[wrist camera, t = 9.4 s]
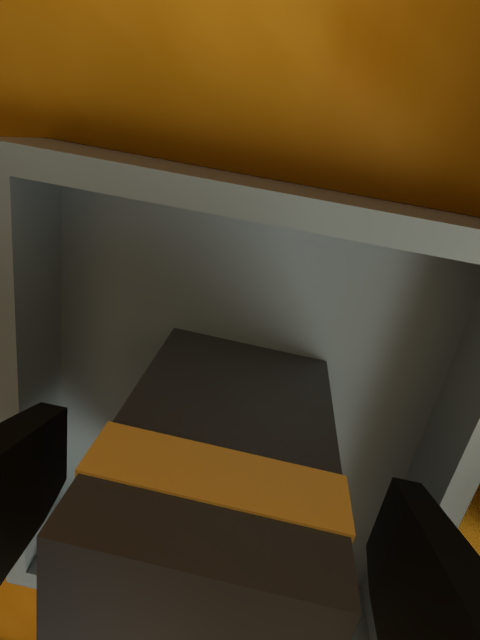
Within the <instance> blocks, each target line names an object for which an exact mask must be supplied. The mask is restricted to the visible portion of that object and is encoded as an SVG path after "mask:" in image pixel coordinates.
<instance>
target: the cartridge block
mask: <svg viewBox="0 0 480 640" xmlns="http://www.w3.org/2000/svg"><path fill="white" fill-rule="evenodd" d="M355 536H356V534H355V528H354V521H353V515H352V508H351V501H350V495H349V488H348V482H347V476H345V475H342V468H341V461H340V454H339V446H338V439H337V432H336V425H335V418H334V411H333V403H332V396H331V389H330V382H329V375H328V368H327V361H323V360H319V359H314V358H310V357H305V356H301V355H296V354H292V353H287V352H282V351H278V350H273V349H269V348H264V347H260V346H255V345H251V344H246V343H241V342H237V341H232V340H228V339H223V338H219V337H214V336H209V335H205V334H200V333H196V332H191V331H187V330H182V329H178V328H174V329H173V330H172V332H171V333H170V335H169V336H168V338H167V339H166V341H165V342H164V344H163V345H162V347H161V348H160V350H159V351H158V353H157V354H156V356H155V357H154V359H153V361H152V362H151V364H150V365H149V367H148V368H147V370H146V371H145V373H144V374H143V376H142V377H141V379H140V380H139V382H138V383H137V385H136V386H135V388H134V389H133V391H132V392H131V394H130V395H129V397H128V398H127V400H126V401H125V403H124V404H123V406H122V408H121V409H120V411H119V412H118V414H117V415H116V417H115V418H114V420H113V421H112V422H110V421H108V422H107V423H106V425H105V426H104V428H103V429H102V431H101V432H100V433H99V435H98V436H97V438H96V439H95V441H94V442H93V444H92V445H91V447H90V448H89V450H88V451H87V453H86V454H85V456H84V457H83V459H82V460H81V462H80V463H79V465H78V466H77V467H76V469H75V479H74V480H73V482H72V483H71V485H70V486H69V488H68V489H67V491H66V492H65V494H64V495H63V497H62V498H61V500H60V502H59V503H58V505H57V506H56V508H55V509H54V511H53V512H52V514H51V515H50V517H49V518H48V520H47V521H46V523H45V524H44V526H43V527H42V529H41V530H40V532H39V533H38V535H37V640H351V638H352V636H353V634H354V632H355V629H356V627H357V625H358V623H359V621H360V618H361V616H362V611H361V604H360V597H359V590H358V582H357V575H356V568H355V561H354V554H353V547H352V544H353V541H354V539H355Z"/></svg>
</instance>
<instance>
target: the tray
mask: <svg viewBox="0 0 480 640" xmlns="http://www.w3.org/2000/svg"><path fill="white" fill-rule="evenodd" d="M174 328H178V329H182V330H187V331H191V332H196V333H200V334H205V335H209V336H214V337H219V338H223V339H228V340H232V341H237V342H241V343H246V344H251V345H255V346H260V347H264V348H269V349H273V350H278V351H282V352H287V353H292V354H296V355H301V356H305V357H310V358H314V359H319V360H323V361H327V368H328V375H329V382H330V389H331V396H332V403H333V411H334V418H335V425H336V432H337V439H338V446H339V454H340V461H341V468H342V475H345V476H347V482H348V488H349V495H350V501H351V508H352V515H353V521H354V528H355V534H356V536H355V539H354V541H353V544H352V547H353V554H354V561H355V568H356V575H357V582H358V590H359V597H360V604H361V611H362V616H361V618H360V621H359V623H358V625H357V627H356V629H355V632H354V634H353V636H352V638H351V640H377V635H376V629H375V624H374V618H373V613H372V607H371V601H370V596H369V584H368V571H367V554H366V544H367V541H368V539H369V536H370V534H371V531H372V528H373V526H374V523H375V521H376V518H377V516H378V513H379V510H380V508H381V505H382V503H383V500H384V498H385V495H386V492H387V490H388V487H389V485H390V482H391V480H392V477H395V478H400V479H404V480H409V481H414V482H419V483H422V485H423V486H424V487H425V488H426V489H427V491H428V492H429V493H430V494H431V495H432V497H433V498H434V499H435V500H436V502H437V503H438V504H439V505H440V507H441V508H442V509H443V511H444V512H445V513H446V514H447V516H448V517H449V518H450V519H451V521H452V522H453V523H454V525H455V526H456V527H457V528H458V526H459V524H460V522H461V520H462V518H463V516H464V514H465V512H466V510H467V508H468V506H469V504H470V502H471V500H472V498H473V496H474V494H475V492H476V490H477V488H478V486H479V484H480V218H479V217H474V216H468V215H463V214H458V213H452V212H447V211H441V210H436V209H430V208H425V207H420V206H414V205H409V204H403V203H398V202H392V201H387V200H381V199H376V198H371V197H365V196H360V195H354V194H349V193H343V192H338V191H333V190H327V189H322V188H316V187H311V186H305V185H300V184H295V183H289V182H284V181H278V180H273V179H267V178H262V177H256V176H251V175H246V174H240V173H235V172H229V171H224V170H218V169H213V168H208V167H202V166H197V165H191V164H186V163H180V162H175V161H169V160H164V159H159V158H153V157H148V156H142V155H137V154H131V153H126V152H121V151H115V150H110V149H104V148H99V147H93V146H88V145H83V144H77V143H72V142H66V141H61V140H55V139H50V138H36V137H0V423H1V422H2V421H4V420H6V419H8V418H10V417H12V416H14V415H16V414H18V413H20V412H22V411H24V410H26V409H28V408H30V407H32V406H34V405H36V404H38V403H40V402H44V403H48V404H53V405H58V406H62V407H67V408H68V414H67V479H66V481H65V483H64V485H63V487H62V489H61V491H60V493H59V495H58V497H57V499H56V501H55V503H54V505H53V506H52V508H51V510H50V512H49V514H48V516H47V517H46V519H45V521H44V523H43V524H42V526H41V527H40V529H39V530H38V532H37V533H36V535H35V536H34V538H33V539H32V540H31V542H30V543H29V545H28V546H27V548H26V549H25V551H24V552H23V554H22V555H21V556H20V558H19V559H18V561H17V562H16V564H15V565H14V567H13V568H12V569H11V571H10V572H9V574H8V575H7V577H6V582H8V583H13V584H17V585H21V586H25V587H30V588H34V589H37V535H38V533H39V532H40V530H41V529H42V527H43V526H44V524H45V523H46V521H47V520H48V518H49V517H50V515H51V514H52V512H53V511H54V509H55V508H56V506H57V505H58V503H59V502H60V500H61V498H62V497H63V495H64V494H65V492H66V491H67V489H68V488H69V486H70V485H71V483H72V482H73V480H74V479H75V469H76V467H77V466H78V465H79V463H80V462H81V460H82V459H83V457H84V456H85V454H86V453H87V451H88V450H89V448H90V447H91V445H92V444H93V442H94V441H95V439H96V438H97V436H98V435H99V433H100V432H101V431H102V429H103V428H104V426H105V425H106V423H107V422H108V421H110V422H112V421H113V420H114V418H115V417H116V415H117V414H118V412H119V411H120V409H121V408H122V406H123V404H124V403H125V401H126V400H127V398H128V397H129V395H130V394H131V392H132V391H133V389H134V388H135V386H136V385H137V383H138V382H139V380H140V379H141V377H142V376H143V374H144V373H145V371H146V370H147V368H148V367H149V365H150V364H151V362H152V361H153V359H154V357H155V356H156V354H157V353H158V351H159V350H160V348H161V347H162V345H163V344H164V342H165V341H166V339H167V338H168V336H169V335H170V333H171V332H172V330H173V329H174Z"/></svg>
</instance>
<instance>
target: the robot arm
mask: <svg viewBox="0 0 480 640" xmlns="http://www.w3.org/2000/svg"><path fill="white" fill-rule="evenodd" d="M67 414H68V408H67V407H62V406H58V405H53V404H48V403H44V402H40V403H38V404H36V405H34V406H32V407H30V408H28V409H26V410H24V411H22V412H20V413H18V414H16V415H14V416H12V417H10V418H8V419H6V420H4V421H2V422H1V423H0V585H1V584H2V582H3V581H4V580H5V578H6V577H7V575H8V574H9V572H10V571H11V569H12V568H13V567H14V565H15V564H16V562H17V561H18V559H19V558H20V556H21V555H22V554H23V552H24V551H25V549H26V548H27V546H28V545H29V543H30V542H31V540H32V539H33V538H34V536H35V535H36V533H37V532H38V530H39V529H40V527H41V526H42V524H43V523H44V521H45V519H46V517H47V516H48V514H49V512H50V510H51V508H52V506H53V505H54V503H55V501H56V499H57V497H58V495H59V493H60V491H61V489H62V487H63V485H64V483H65V481H66V479H67ZM366 554H367V571H368V584H369V596H370V601H371V607H372V613H373V618H374V624H375V629H376V635H377V640H480V556H479V555H478V553H477V552H476V551H475V550H474V548H473V547H472V546H471V545H470V543H469V542H468V541H467V540H466V538H465V537H464V536H463V535H462V533H461V532H460V531H459V530H458V528H457V527H456V526H455V525H454V523H453V522H452V521H451V519H450V518H449V517H448V516H447V514H446V513H445V512H444V511H443V509H442V508H441V507H440V505H439V504H438V503H437V502H436V500H435V499H434V498H433V497H432V495H431V494H430V493H429V492H428V491H427V489H426V488H425V487H424V486H423V485H422V483H419V482H414V481H409V480H404V479H400V478H395V477H392V480H391V482H390V485H389V487H388V490H387V492H386V495H385V498H384V500H383V503H382V505H381V508H380V510H379V513H378V516H377V518H376V521H375V523H374V526H373V528H372V531H371V534H370V536H369V539H368V541H367V544H366Z"/></svg>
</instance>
